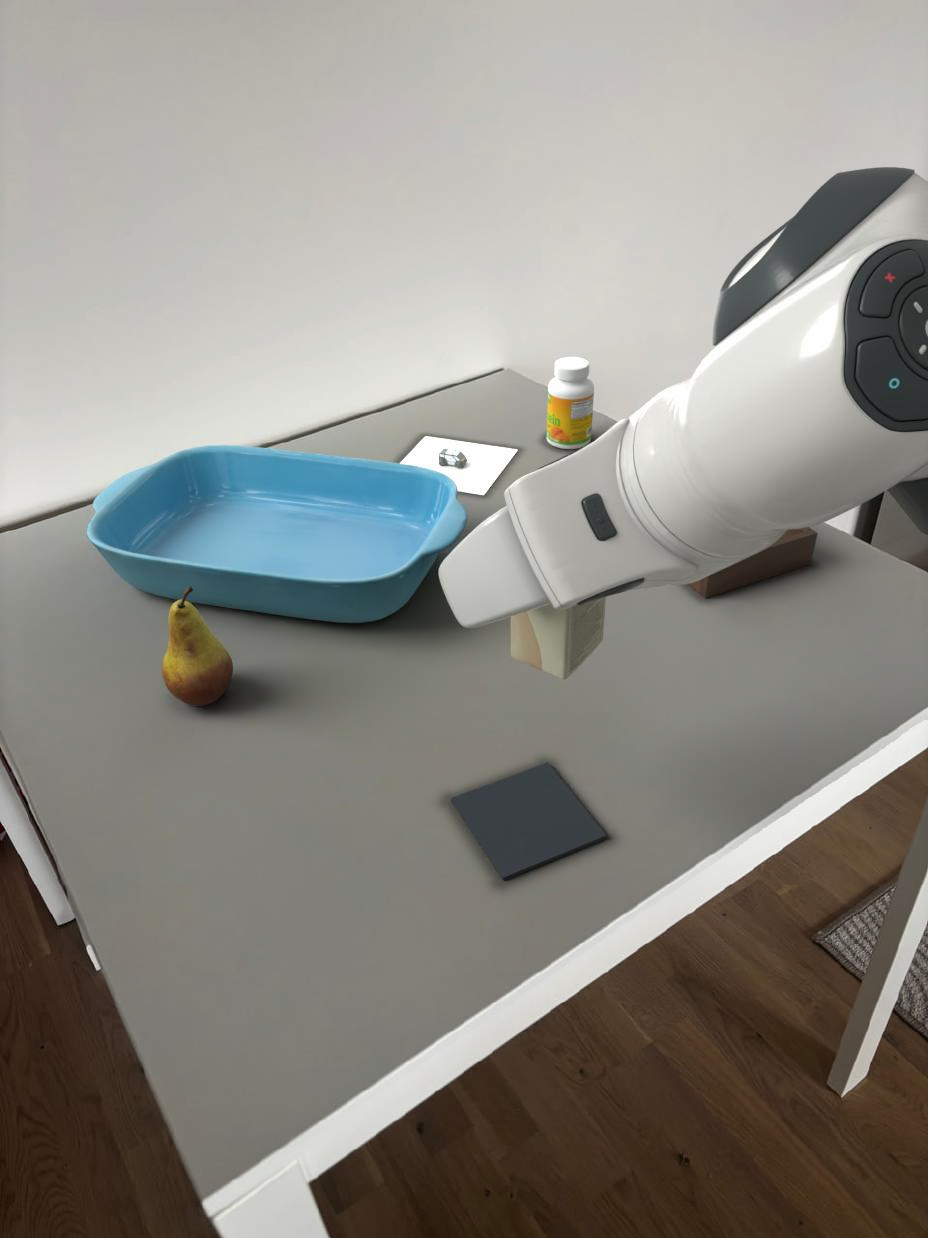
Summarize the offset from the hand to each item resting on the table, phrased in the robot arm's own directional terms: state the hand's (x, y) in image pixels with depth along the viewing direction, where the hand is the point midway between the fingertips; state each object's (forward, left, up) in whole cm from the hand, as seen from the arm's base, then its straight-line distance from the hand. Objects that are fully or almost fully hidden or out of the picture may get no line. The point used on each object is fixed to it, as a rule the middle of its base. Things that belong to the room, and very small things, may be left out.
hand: (552, 570), depth 60 cm
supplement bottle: (+48, -31, -18) cm, 60 cm away
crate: (+20, -31, -18) cm, 41 cm away
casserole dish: (+37, +8, -18) cm, 42 cm away
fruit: (+21, +20, -18) cm, 34 cm away
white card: (+49, -16, -18) cm, 55 cm away
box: (-1, 0, -6) cm, 6 cm away
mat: (-3, +3, -18) cm, 19 cm away
